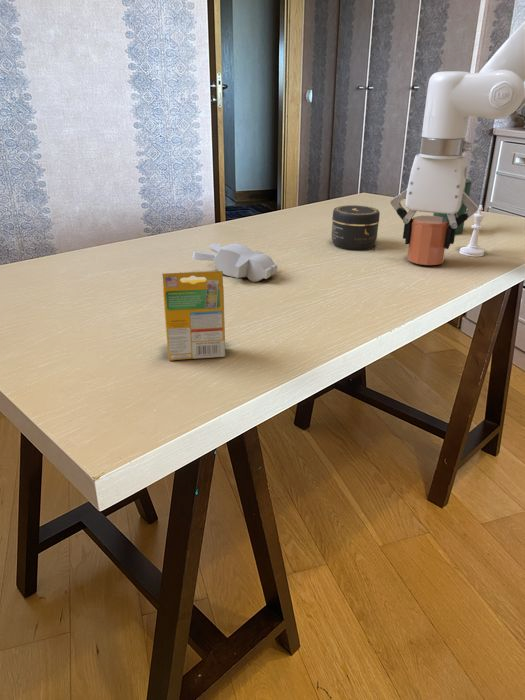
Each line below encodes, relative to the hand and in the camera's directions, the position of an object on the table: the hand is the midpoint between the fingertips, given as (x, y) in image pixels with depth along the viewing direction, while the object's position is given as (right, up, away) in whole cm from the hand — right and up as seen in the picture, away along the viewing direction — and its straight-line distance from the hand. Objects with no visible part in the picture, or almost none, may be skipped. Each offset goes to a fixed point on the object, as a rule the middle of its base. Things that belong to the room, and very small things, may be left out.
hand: (427, 244), depth 104 cm
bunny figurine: (-37, -7, -6) cm, 38 cm away
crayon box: (-41, -21, -35) cm, 58 cm away
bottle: (+12, +8, +24) cm, 28 cm away
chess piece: (+12, -1, +8) cm, 14 cm away
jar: (-12, +2, +12) cm, 18 cm away
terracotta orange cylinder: (0, -3, +1) cm, 3 cm away
